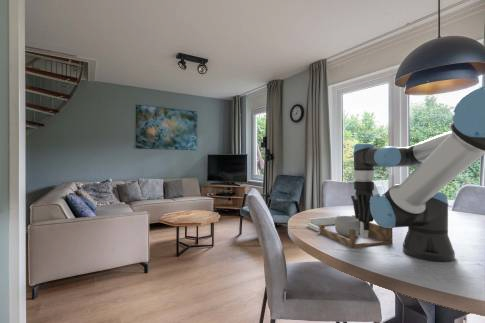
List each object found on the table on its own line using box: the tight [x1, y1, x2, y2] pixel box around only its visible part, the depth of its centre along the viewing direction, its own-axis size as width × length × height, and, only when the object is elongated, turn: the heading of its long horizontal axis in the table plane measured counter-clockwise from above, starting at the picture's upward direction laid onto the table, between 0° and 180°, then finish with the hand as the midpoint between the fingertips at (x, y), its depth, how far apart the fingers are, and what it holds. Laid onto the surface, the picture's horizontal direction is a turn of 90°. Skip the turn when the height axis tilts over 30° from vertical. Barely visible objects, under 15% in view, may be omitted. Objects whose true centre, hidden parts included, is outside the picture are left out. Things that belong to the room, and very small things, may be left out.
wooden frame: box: [319, 214, 394, 249], centre depth 111 cm, size 22×20×7 cm
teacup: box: [334, 215, 360, 239], centre depth 116 cm, size 14×11×8 cm
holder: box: [307, 216, 337, 233], centre depth 129 cm, size 10×19×4 cm, turn 106°
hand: (364, 237), depth 105 cm, fingers closed
